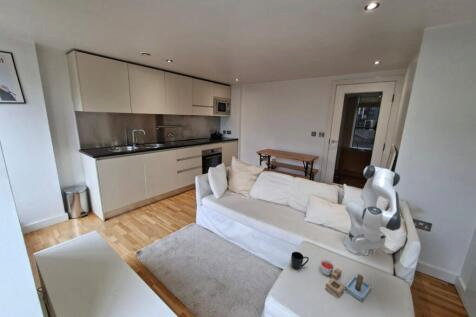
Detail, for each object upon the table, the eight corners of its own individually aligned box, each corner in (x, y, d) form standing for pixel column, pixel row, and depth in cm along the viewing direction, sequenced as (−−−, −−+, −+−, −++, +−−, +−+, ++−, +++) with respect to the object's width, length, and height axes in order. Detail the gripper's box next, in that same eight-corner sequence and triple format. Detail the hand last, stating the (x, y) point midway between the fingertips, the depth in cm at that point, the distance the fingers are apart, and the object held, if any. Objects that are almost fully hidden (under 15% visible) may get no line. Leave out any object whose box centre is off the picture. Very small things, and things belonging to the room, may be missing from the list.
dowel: (355, 286, 126) (358, 273, 123) (360, 288, 124) (363, 276, 122) (354, 289, 124) (357, 276, 121) (360, 292, 122) (363, 279, 119)
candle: (328, 279, 132) (329, 271, 130) (316, 270, 139) (317, 262, 137) (335, 273, 136) (337, 265, 135) (324, 264, 144) (325, 257, 142)
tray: (353, 278, 132) (354, 275, 131) (370, 289, 125) (371, 285, 124) (344, 290, 124) (345, 286, 123) (361, 302, 116) (362, 298, 115)
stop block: (336, 273, 136) (337, 267, 135) (340, 276, 134) (341, 270, 133) (330, 279, 131) (331, 273, 130) (335, 282, 129) (336, 276, 128)
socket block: (331, 282, 129) (332, 277, 128) (343, 291, 123) (344, 286, 122) (325, 289, 124) (326, 283, 123) (337, 298, 118) (338, 293, 117)
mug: (308, 272, 136) (310, 261, 134) (290, 270, 138) (292, 258, 136) (306, 263, 144) (307, 253, 142) (289, 261, 146) (291, 250, 144)
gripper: (358, 238, 109) (353, 259, 113) (388, 235, 113) (384, 255, 116) (350, 232, 115) (346, 251, 119) (379, 229, 119) (375, 248, 122)
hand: (365, 253), depth 117 cm, fingers open, 8 cm apart
